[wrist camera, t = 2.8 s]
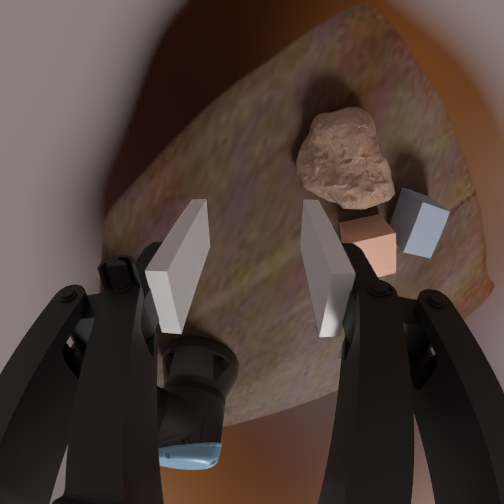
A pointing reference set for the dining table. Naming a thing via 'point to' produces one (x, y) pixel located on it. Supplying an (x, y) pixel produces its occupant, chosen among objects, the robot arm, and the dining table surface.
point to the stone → (345, 160)
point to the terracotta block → (372, 241)
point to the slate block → (418, 223)
